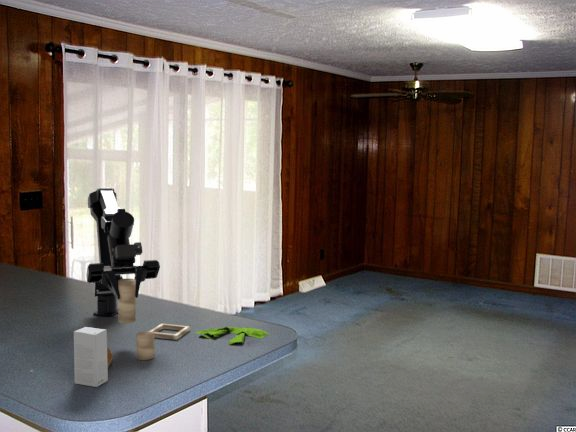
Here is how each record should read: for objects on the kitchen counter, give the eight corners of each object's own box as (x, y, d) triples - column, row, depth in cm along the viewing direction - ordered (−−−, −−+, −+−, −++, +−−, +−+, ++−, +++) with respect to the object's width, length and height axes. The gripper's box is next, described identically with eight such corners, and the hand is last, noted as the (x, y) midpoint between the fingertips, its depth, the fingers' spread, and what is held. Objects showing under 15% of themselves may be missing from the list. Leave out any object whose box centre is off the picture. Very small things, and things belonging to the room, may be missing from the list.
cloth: (278, 335, 169) (278, 326, 169) (236, 357, 150) (236, 348, 150) (221, 323, 179) (221, 315, 179) (174, 343, 160) (174, 334, 160)
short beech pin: (141, 353, 149) (140, 330, 149) (157, 354, 149) (157, 331, 148) (133, 359, 145) (133, 335, 145) (150, 360, 144) (149, 337, 144)
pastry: (117, 368, 139) (116, 353, 139) (87, 373, 136) (87, 357, 136) (108, 356, 148) (108, 341, 147) (80, 360, 144) (80, 345, 144)
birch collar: (161, 327, 172) (161, 323, 171) (189, 330, 169) (190, 326, 169) (147, 336, 163) (147, 332, 163) (176, 339, 161) (176, 335, 161)
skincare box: (108, 380, 131) (108, 329, 130) (96, 387, 127) (95, 334, 126) (86, 376, 133) (85, 326, 132) (73, 383, 129) (72, 331, 128)
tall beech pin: (123, 317, 158) (123, 278, 157) (138, 319, 157) (138, 279, 156) (115, 322, 154) (115, 281, 152) (130, 324, 153) (130, 283, 151)
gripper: (87, 233, 152) (93, 284, 144) (158, 231, 160) (168, 278, 152) (83, 257, 160) (89, 307, 152) (151, 254, 168) (161, 300, 160)
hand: (127, 297), depth 153 cm, fingers closed on tall beech pin, 4 cm apart
